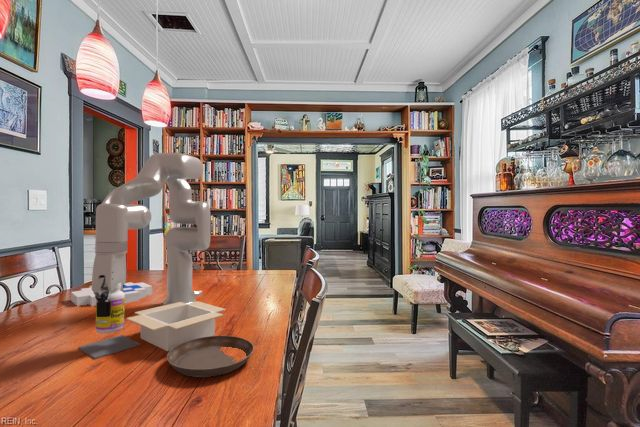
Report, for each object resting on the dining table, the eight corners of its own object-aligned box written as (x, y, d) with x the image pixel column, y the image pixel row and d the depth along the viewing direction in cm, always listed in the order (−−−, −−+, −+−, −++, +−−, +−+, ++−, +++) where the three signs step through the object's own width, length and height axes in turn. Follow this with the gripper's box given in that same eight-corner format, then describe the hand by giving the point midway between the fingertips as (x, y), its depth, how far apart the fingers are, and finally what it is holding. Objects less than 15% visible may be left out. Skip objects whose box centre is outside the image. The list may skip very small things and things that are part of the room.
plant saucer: (223, 340, 95) (224, 328, 95) (270, 360, 82) (270, 347, 82) (151, 364, 79) (151, 350, 79) (194, 395, 66) (195, 378, 66)
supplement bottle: (110, 335, 85) (110, 286, 85) (89, 333, 86) (90, 285, 86) (129, 326, 91) (130, 281, 91) (110, 324, 92) (111, 280, 93)
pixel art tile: (137, 279, 161) (159, 289, 142) (137, 287, 160) (159, 298, 142) (67, 288, 140) (81, 300, 121) (67, 297, 140) (81, 311, 121)
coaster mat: (122, 336, 96) (122, 334, 96) (140, 345, 90) (140, 343, 90) (78, 348, 87) (78, 346, 87) (95, 359, 81) (95, 357, 81)
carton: (190, 319, 113) (191, 299, 113) (233, 333, 99) (234, 311, 99) (119, 339, 94) (120, 315, 94) (160, 360, 80) (161, 333, 80)
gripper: (111, 245, 97) (110, 304, 96) (78, 251, 80) (77, 323, 79) (138, 245, 98) (137, 303, 98) (111, 251, 81) (110, 322, 81)
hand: (110, 311), depth 89 cm, fingers closed on supplement bottle, 6 cm apart
